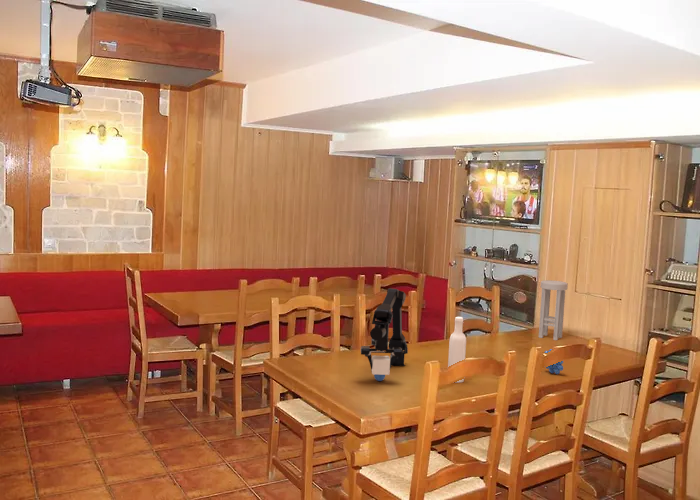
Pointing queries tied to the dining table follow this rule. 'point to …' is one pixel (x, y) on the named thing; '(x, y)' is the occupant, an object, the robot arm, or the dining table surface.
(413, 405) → the dining table surface
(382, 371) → the pale pink cube
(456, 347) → the bottle
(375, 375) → the ball
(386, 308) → the robot arm
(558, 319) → the stool
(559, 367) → the grapes
